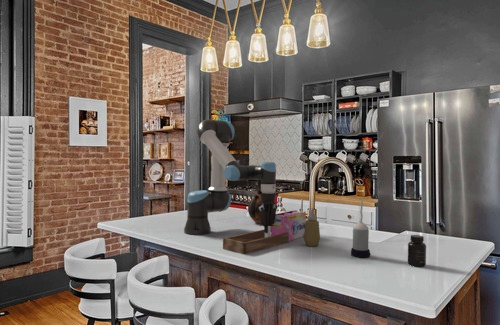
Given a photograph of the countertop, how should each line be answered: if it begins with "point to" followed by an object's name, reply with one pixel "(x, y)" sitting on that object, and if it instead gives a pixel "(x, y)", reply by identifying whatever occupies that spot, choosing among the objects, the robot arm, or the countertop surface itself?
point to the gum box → (289, 224)
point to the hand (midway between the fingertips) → (267, 238)
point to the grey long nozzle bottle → (360, 238)
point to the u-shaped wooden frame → (253, 242)
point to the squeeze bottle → (312, 230)
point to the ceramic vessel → (256, 205)
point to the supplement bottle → (417, 251)
